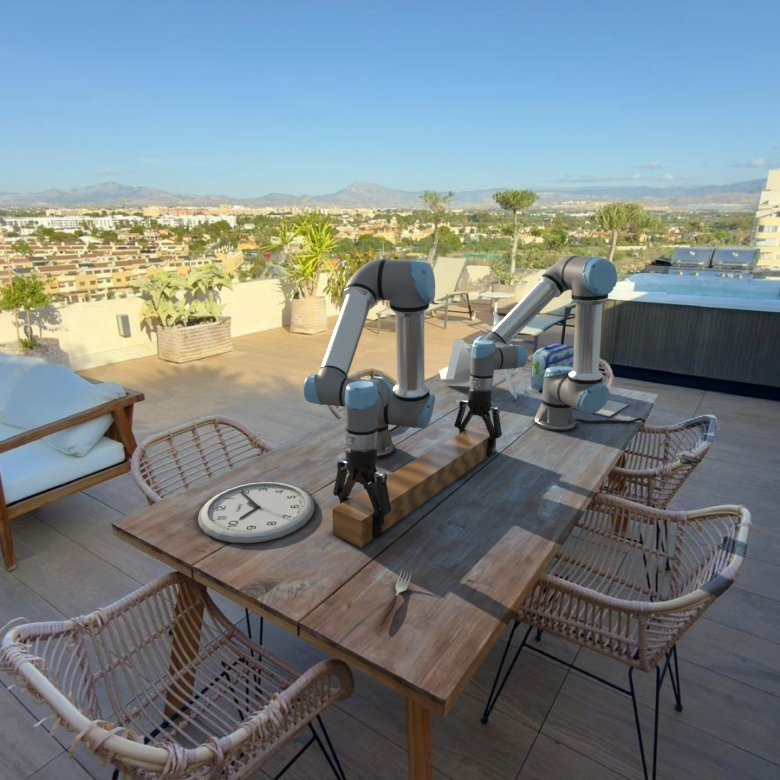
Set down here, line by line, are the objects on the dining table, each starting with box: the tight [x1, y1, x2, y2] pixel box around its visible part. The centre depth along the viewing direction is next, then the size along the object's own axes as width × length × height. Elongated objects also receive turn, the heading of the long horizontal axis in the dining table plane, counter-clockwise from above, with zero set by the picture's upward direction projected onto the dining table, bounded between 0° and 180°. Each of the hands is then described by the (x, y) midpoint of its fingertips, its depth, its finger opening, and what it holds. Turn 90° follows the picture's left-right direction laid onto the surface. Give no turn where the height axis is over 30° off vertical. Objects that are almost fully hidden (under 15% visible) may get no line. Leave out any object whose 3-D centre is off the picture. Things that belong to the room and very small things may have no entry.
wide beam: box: [332, 425, 497, 548], centre depth 153 cm, size 72×9×7 cm, turn 143°
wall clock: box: [197, 481, 315, 544], centre depth 139 cm, size 30×2×30 cm
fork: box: [379, 570, 413, 627], centre depth 106 cm, size 3×16×2 cm, turn 160°
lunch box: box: [530, 343, 574, 391], centre depth 249 cm, size 26×11×21 cm, turn 134°
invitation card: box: [594, 399, 629, 418], centre depth 226 cm, size 21×1×15 cm
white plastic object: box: [438, 310, 531, 400], centre depth 245 cm, size 37×45×31 cm
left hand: (361, 529), depth 131 cm, fingers closed on wide beam, 9 cm apart
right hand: (476, 451), depth 178 cm, fingers closed on wide beam, 9 cm apart
